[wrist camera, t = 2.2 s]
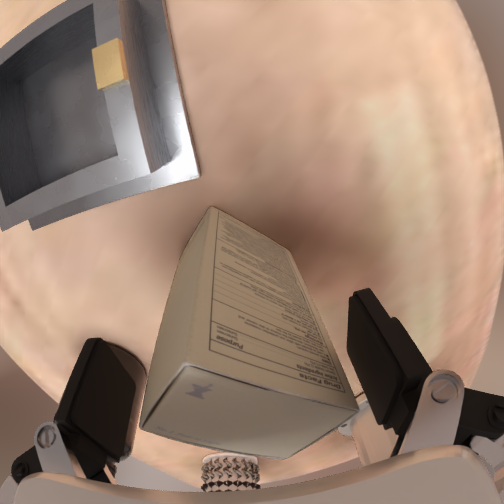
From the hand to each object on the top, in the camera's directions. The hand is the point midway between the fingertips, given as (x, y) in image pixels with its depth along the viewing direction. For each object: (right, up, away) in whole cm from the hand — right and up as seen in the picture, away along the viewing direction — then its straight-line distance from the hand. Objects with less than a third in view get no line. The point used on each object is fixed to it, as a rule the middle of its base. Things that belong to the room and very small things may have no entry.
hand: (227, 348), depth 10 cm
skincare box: (0, +3, +9) cm, 9 cm away
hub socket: (-10, +12, +3) cm, 16 cm away
